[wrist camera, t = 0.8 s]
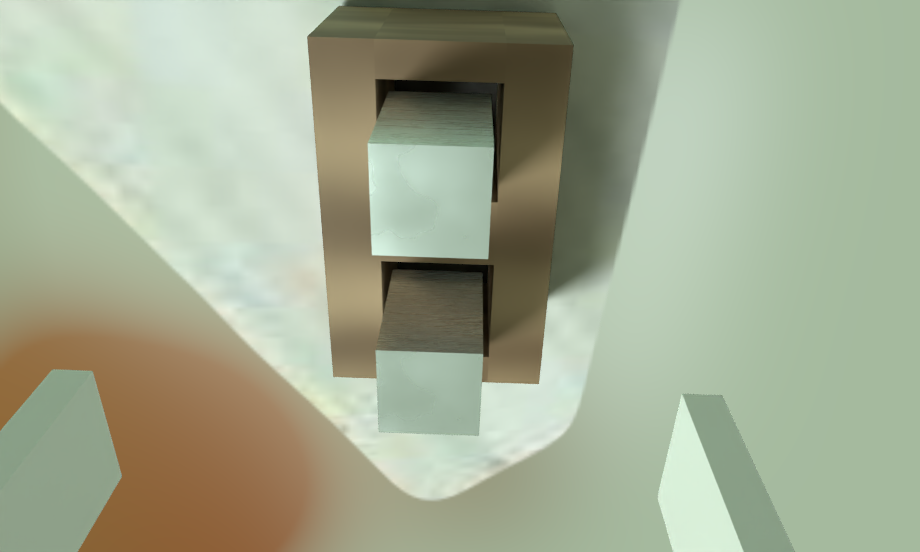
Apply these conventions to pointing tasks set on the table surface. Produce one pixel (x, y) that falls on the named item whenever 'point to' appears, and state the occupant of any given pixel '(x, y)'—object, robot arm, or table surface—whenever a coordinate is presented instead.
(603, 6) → the table surface
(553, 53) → the wooden peg hole block
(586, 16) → the table surface
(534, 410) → the table surface
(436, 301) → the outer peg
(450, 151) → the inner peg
